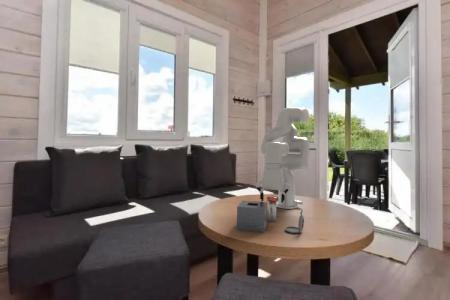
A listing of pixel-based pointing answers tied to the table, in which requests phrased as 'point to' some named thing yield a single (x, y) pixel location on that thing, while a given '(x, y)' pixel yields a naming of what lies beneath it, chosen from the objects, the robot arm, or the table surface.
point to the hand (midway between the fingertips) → (272, 201)
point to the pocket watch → (296, 229)
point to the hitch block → (252, 216)
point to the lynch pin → (272, 207)
